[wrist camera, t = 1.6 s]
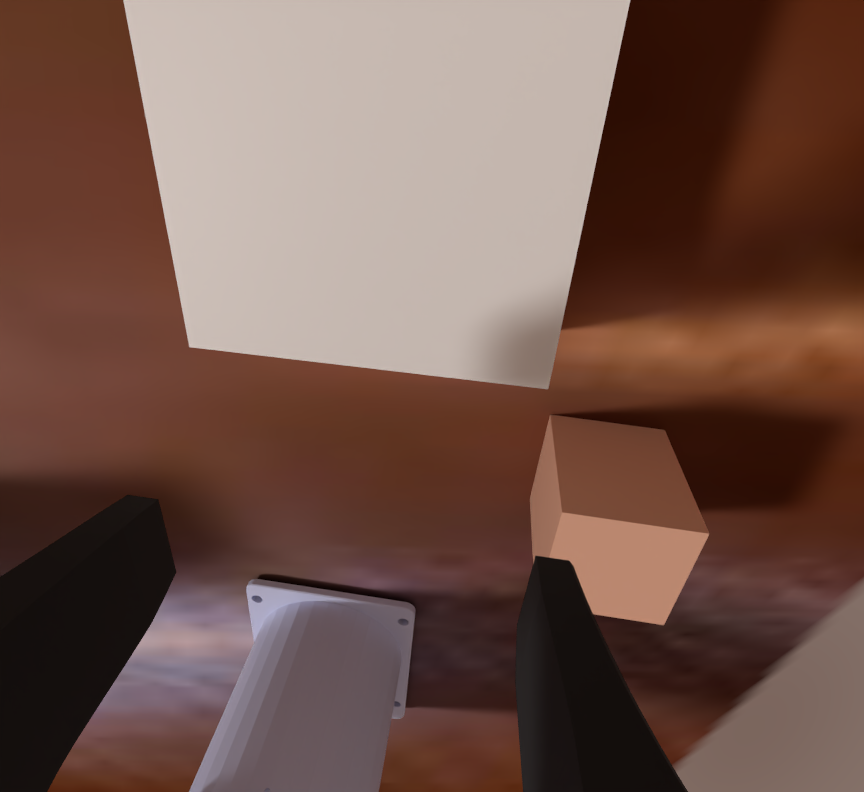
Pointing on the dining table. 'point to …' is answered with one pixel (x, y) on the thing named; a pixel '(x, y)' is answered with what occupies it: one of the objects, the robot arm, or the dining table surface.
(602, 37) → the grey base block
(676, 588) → the terracotta block
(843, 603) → the dining table surface
